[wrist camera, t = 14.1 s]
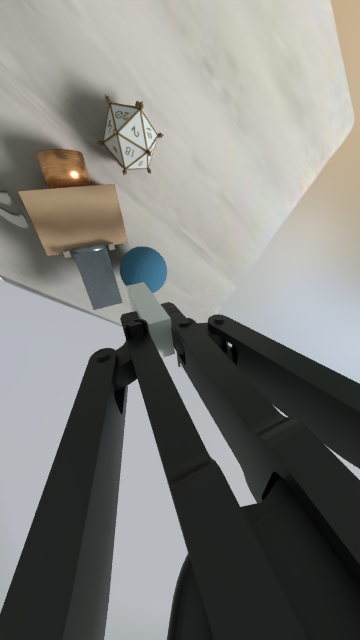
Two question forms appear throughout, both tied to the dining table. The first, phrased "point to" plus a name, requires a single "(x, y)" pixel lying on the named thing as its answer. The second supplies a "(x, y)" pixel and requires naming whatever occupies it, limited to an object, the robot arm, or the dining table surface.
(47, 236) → the hitch block
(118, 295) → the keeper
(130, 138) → the game die
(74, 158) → the pin
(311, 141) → the dining table surface
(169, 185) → the dining table surface
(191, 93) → the dining table surface
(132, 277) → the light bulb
